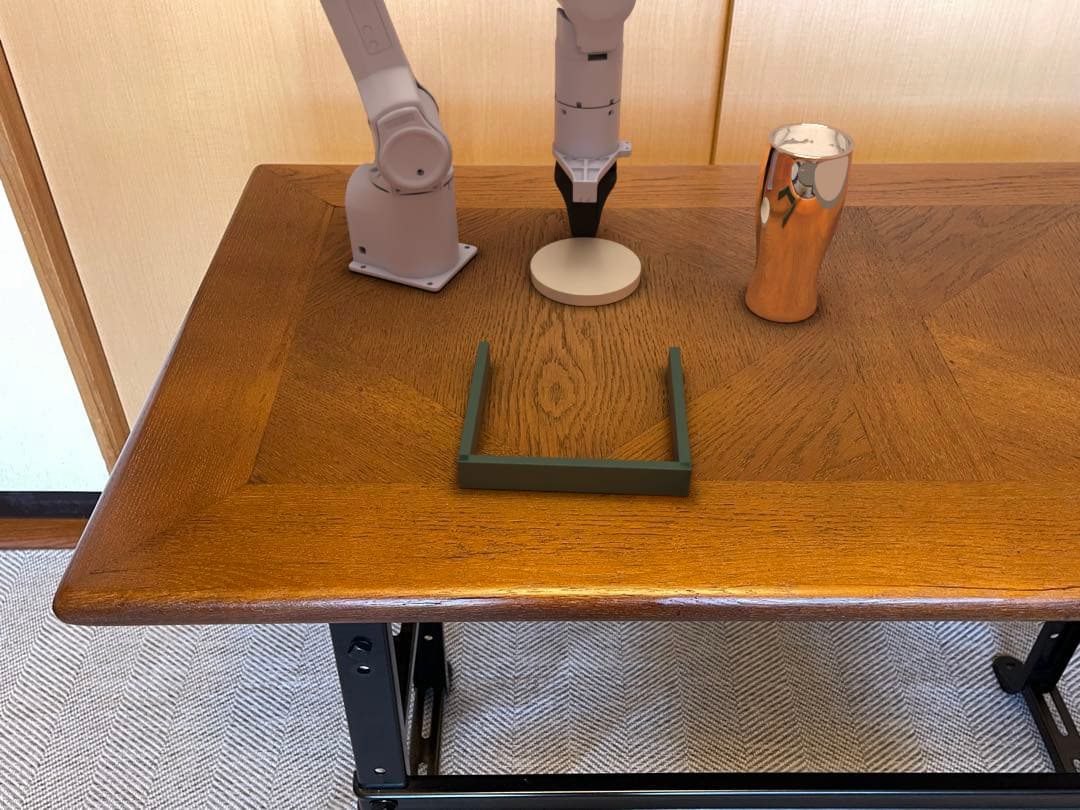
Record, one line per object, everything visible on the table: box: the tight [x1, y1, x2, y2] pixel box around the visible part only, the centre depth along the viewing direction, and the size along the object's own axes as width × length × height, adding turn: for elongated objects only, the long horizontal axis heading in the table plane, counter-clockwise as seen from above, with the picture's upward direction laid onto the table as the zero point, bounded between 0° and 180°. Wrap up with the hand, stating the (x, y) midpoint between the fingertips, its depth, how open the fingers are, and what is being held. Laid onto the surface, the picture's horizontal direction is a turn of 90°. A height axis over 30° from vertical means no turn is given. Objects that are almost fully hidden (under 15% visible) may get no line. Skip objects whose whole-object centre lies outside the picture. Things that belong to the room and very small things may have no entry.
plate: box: [529, 237, 642, 307], centre depth 84 cm, size 10×10×1 cm
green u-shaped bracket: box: [456, 341, 693, 497], centre depth 67 cm, size 14×16×2 cm
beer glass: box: [744, 122, 856, 324], centre depth 76 cm, size 7×7×15 cm
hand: (583, 236), depth 88 cm, fingers closed
